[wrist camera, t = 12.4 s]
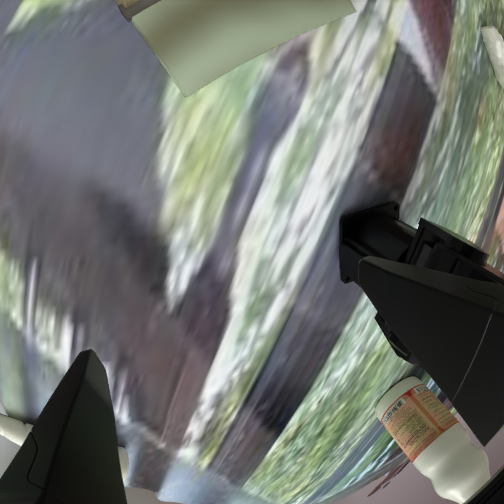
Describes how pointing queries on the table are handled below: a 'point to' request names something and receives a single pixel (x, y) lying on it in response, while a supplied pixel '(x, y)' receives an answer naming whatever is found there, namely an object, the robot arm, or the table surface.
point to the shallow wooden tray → (222, 31)
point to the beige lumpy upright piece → (494, 51)
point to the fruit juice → (433, 440)
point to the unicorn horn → (20, 431)
